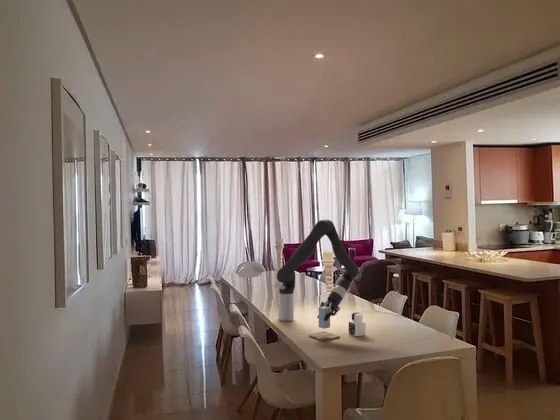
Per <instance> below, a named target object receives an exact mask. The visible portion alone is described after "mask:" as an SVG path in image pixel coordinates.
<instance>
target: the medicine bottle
mask: <svg viewBox="0 0 560 420" xmlns="http://www.w3.org/2000/svg"><path fill="white" fill-rule="evenodd" d="M363 317H364V315H363V313H361V312H353V313H351V320H348V333H349V334H350V335H352V336H354V337H360V336H361V337H363V336H366V333H367V332H366V329H367V327H366V326H367V325H366V324H367V323H366V322H365V321H363Z"/></svg>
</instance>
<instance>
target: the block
mask: <svg viewBox="0 0 560 420" xmlns="http://www.w3.org/2000/svg"><path fill="white" fill-rule="evenodd" d="M317 311H318V315H319V319H318V328H321V329H329V328H331V316H330V317H329V319H328V320H327V321H324V317H325V316H326V314H328V311H329V307H325V306H323V307H320V306H319V307H318V310H317Z"/></svg>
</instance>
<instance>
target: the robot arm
mask: <svg viewBox="0 0 560 420" xmlns="http://www.w3.org/2000/svg"><path fill="white" fill-rule="evenodd" d="M324 236H326V237H327V238H328V239H329V242H330V243H331V248H332V252H333V254H334V257H335V259H336V260H337V261H338V264H339V265H340V266H343V268H344V269H345V270H344V272H343V274H342V276H341V277H340V279H339V280H338V281H337V283H336V285H335V286H334V287H333V289H332V290H331V292H330V293H329V294H328V296H327V300H326V301H321V303H320V304H319V307H323V306H325V307H329V311H328V314H326V316H325V317H324V321H327V320H328V319H329V317H330V318H331V317H335V315H336V314H337V313H338V312H339V311H340V310H341V307H340V306H339V305H340V304H341V302H342V301H343V299H344V298H345V296H346V294H347V292H348V291H349V289H350V287H351V284H352V283H353V281H354V280H355V279H356V278H357V276H359V272H360V271H359V268H358V265H357V264H356V263H355V262H354V260H352V259H351V257H350V256H349V254H348V252H347V251H346V249H345V247H344V245H343V243H342V241H341V239H340V236H339V234H338V232H337V230H336V227H335V224H334V222H333V221H332V220H330V219H320V220H318V221H317V222H316V223H315V225H314V227H313V228H312V230H311V231H310V233H309V234H308V236H306V238H305V239H304V240H303V241H302V243H300V244H299V246H298V248H297V249H296V250H295V251H294V253H293V254H292V255H291V256H290V257H289V259H288V260H287V261H286V263H284V265H283V266H281V268H280V269H278V271H277V273H276V279H277V281H278V282H279V283H281V284H282V285H281V286H280V287H279V291H278V294H279V297H278V302H279V303H278V311H277V312H278V313H277V315H278V316H277V317H278V320H279V321H281V322H293V321H294V317H295V316H294V315H295V314H294V313H295V311H294V309H295V307H294V303H295V302H294V300H295V299H294V296H295V294H294V292H295V289H296V287H295V286H296V272H295V271H296V270H297V269H298V268H299V267H301V266H302V265H303V264H304V263H306V262H307V261H308V260H309V259H310V258H311V256H313V254H314V252H315V250H316V247H317V244H318V243H319V241H321V240H322V238H323V237H324ZM317 319H318V320H319V314H318V315H317Z"/></svg>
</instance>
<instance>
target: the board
mask: <svg viewBox="0 0 560 420" xmlns="http://www.w3.org/2000/svg"><path fill="white" fill-rule="evenodd" d="M308 337H309V338H312V339H315V340H316V341H320V342H323V343H324V342H329V341H333V340H336V339H340V335H337V334H334V333H331V332H328V331H325V330H324V331H320V332H316V333H312V334H310V333H309V334H308Z"/></svg>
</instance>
